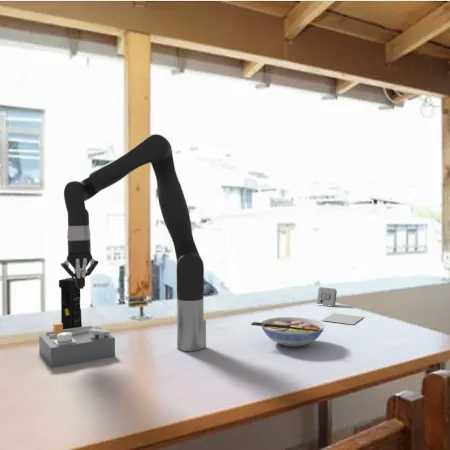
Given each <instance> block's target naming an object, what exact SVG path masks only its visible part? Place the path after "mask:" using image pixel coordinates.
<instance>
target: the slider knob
mask: <svg viewBox="0 0 450 450" xmlns="http://www.w3.org/2000/svg"><path fill="white" fill-rule="evenodd" d="M52 325H53V330H52V331H53V334H59V333H63V324H62V323H61V321H59V322H54V323H52Z"/></svg>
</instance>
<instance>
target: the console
mask: <svg viewBox="0 0 450 450" xmlns="http://www.w3.org/2000/svg"><path fill="white" fill-rule="evenodd" d="M89 329H102V328H101V327H100V326H93V327H92V325H88V326H87V325H86V326H85V325H84V326H82V327H78V328H71V329H64V330H63V333H64V332H70V333H72V340H71V341H69V342H57V334H53V330H50V331H46V333H43V334H39V338H38V339H39V340H38V341H39V344H38V345H39V352H38V353H39V354H40V355H41V356H42V357H43V360H44V361H45V362H46V363H47V365H49V368H52V369H53V368H55V367H56V368H57V367H62V366H68V365H72V364H74V365H75V364H77V363H78V364H79V363H83V362H84V363H85V362H88V361H89V362H90V361H94V360H100V359H105V358H106V359H107V358H110V357H111V358H112V357H115V356H116V338H115V336H113V335H112V334H109V336H106V335H104V332H100V333H99V335H91V334H90V333H89V332H88V331H89Z"/></svg>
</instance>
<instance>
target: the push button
mask: <svg viewBox="0 0 450 450" xmlns="http://www.w3.org/2000/svg"><path fill="white" fill-rule="evenodd" d="M71 340H72V333H70V332H64V333H59V334H57V342H69V341H71Z"/></svg>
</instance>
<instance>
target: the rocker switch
mask: <svg viewBox="0 0 450 450" xmlns="http://www.w3.org/2000/svg"><path fill="white" fill-rule="evenodd" d="M88 332H89V333H90V334H91V335H99V333H100V332H104V335H106V336H109V334H110V333H111V332H110V331H109V330H108V329H104V328H101V329H89V331H88ZM110 335H111V334H110Z"/></svg>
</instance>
